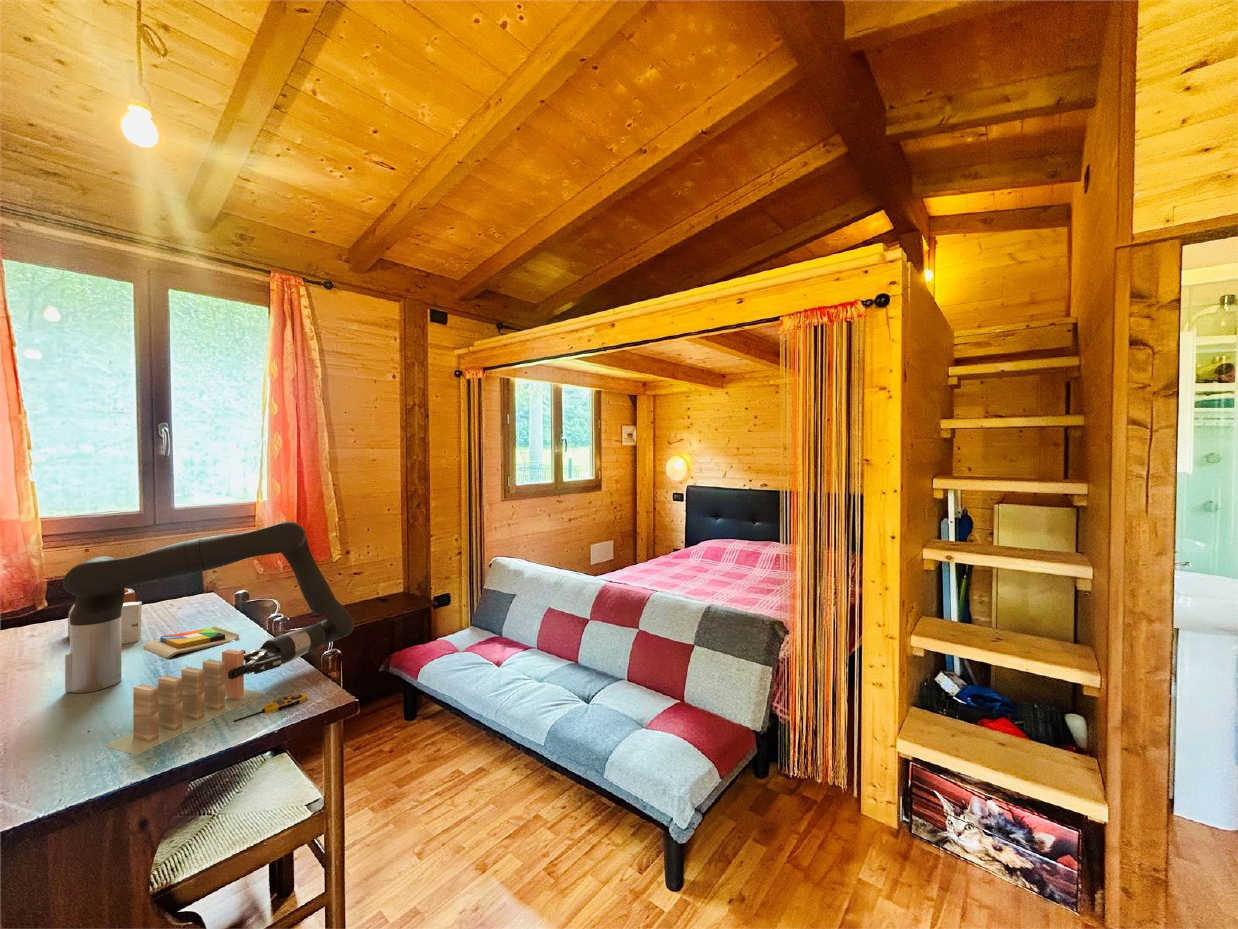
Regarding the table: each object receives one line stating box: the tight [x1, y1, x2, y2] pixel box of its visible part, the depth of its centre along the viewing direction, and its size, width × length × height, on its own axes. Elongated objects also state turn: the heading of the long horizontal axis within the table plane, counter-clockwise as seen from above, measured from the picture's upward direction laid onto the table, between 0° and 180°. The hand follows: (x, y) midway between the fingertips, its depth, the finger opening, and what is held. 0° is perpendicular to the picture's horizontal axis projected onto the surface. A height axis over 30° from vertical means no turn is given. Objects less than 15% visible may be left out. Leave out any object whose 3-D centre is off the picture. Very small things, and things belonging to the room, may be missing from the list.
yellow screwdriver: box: [232, 692, 309, 723], centre depth 118 cm, size 5×2×15 cm
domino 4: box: [202, 659, 225, 711], centre depth 118 cm, size 2×5×11 cm, turn 74°
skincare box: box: [121, 601, 143, 645], centre depth 158 cm, size 6×4×12 cm
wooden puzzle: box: [142, 625, 240, 660], centre depth 157 cm, size 18×19×4 cm
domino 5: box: [221, 649, 245, 699], centre depth 122 cm, size 2×5×11 cm, turn 74°
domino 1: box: [132, 683, 159, 743], centre depth 105 cm, size 2×5×11 cm, turn 74°
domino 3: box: [180, 666, 205, 721], centre depth 113 cm, size 2×5×11 cm, turn 74°
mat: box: [103, 688, 266, 756], centre depth 114 cm, size 27×10×1 cm, turn 164°
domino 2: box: [157, 674, 183, 731], centre depth 109 cm, size 2×5×11 cm, turn 74°
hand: (221, 673), depth 120 cm, fingers closed on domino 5, 4 cm apart
